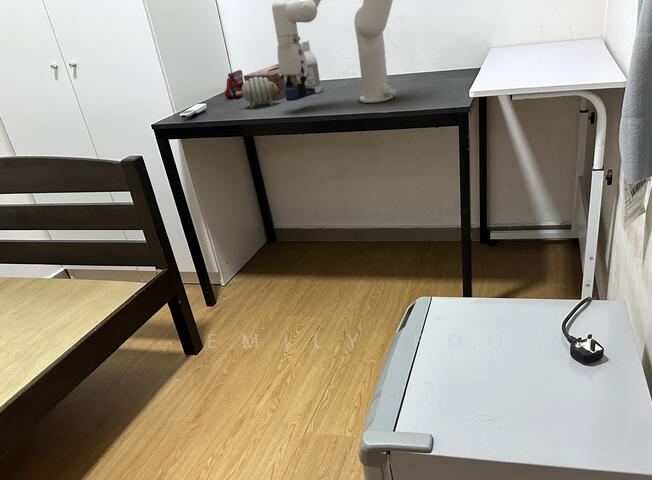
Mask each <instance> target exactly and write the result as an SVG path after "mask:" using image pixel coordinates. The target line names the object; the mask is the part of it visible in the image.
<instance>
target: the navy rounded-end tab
mask: <svg viewBox="0 0 652 480" xmlns="http://www.w3.org/2000/svg"><path fill="white" fill-rule="evenodd" d="M305 89H306V94H304V95H299V90H298V85H294V86H290V87H287V88H285V95H286V97H285V100H286V101H287V102H294V101H299V100H301V99H304V98H307V97H310V96H313V95H315V94H316V93H315V88H306V87H305Z"/></svg>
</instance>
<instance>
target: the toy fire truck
mask: <svg viewBox="0 0 652 480" xmlns="http://www.w3.org/2000/svg"><path fill="white" fill-rule="evenodd" d="M227 77H228V78H226V89H225V90H224V96H225V98H226V99H232V98H233V97H235V98H237V99H242V98H243V95H239V96H236V92H239V91H242V86H243V84H245V83H244V82H245V81H244V73H243V70H242V69H238V70H235V71H233V72H228V74H227Z"/></svg>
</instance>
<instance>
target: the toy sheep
mask: <svg viewBox="0 0 652 480" xmlns="http://www.w3.org/2000/svg"><path fill="white" fill-rule="evenodd" d="M277 93H278V87H277V86H276V85H275V84H274V83H272V82H270V81H268V79H267V78H266V77H265V78H262V77H259V78H257V77H254V78H253V79H252V78H250V79H249V81H244V84H243V86H242V91H239V92H236V96H239V95H242V98H244V99H245V100H246V101H247V102H249V107H250V109H254V108H255V107H254V105H255V106H258V105H260V106H262V105H263V104H267V103H268V105H269V106H273V104H274V103H273V100H272V99H271V95H275V94H277ZM236 96H235V97H236ZM267 98H268V100H267Z"/></svg>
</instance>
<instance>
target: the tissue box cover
mask: <svg viewBox="0 0 652 480" xmlns="http://www.w3.org/2000/svg"><path fill="white" fill-rule="evenodd" d="M278 70H279V63H276V64H273V65H271V66H268V67H265V68H262V69H259V70H255V71H253V72H250V73H248V74H245V75H243V81H244V82H245V81H249V79H250V78H252V79H253V78H254V77H257V78H259V77H262V78H265V77H266V78H267V79H268V81H270V82H272V83H274V84H275V85H276V86H277V87H278V93H277V94H275V95H271V99H272V101H279V100H281V99H283V98H286V95H285V88H286V84H285V83H284V80H283V79H282V78H281V77H280V76H279V75H278ZM287 77H288V76H287ZM300 78H301V76H300ZM291 82H293V86H294V85H298V84H299V82H298V80H297V77H296V75H292V76H291ZM267 101H268V98H267Z"/></svg>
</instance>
